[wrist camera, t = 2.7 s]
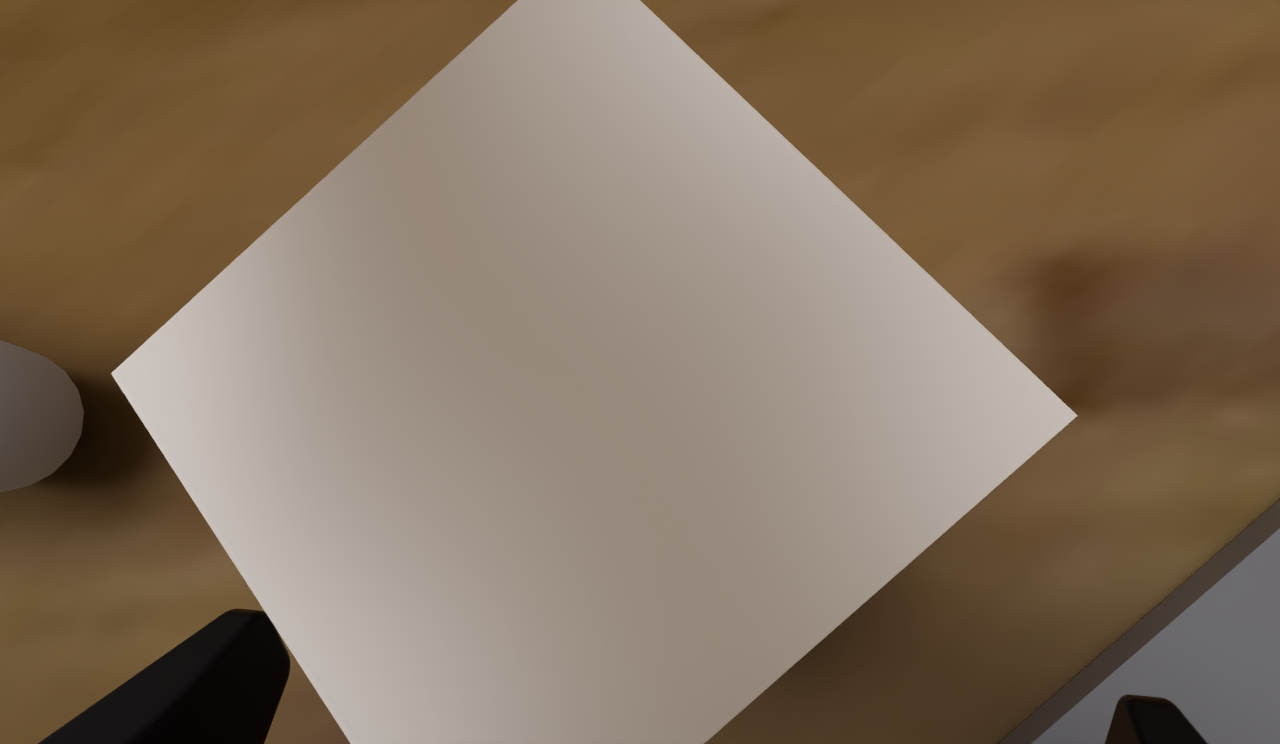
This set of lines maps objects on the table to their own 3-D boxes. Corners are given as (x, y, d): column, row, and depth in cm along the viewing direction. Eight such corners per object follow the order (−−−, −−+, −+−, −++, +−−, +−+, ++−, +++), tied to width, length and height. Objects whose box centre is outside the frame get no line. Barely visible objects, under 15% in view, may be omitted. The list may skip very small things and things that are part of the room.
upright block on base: (661, 730, 19) (177, 1206, 5) (535, 567, 20) (-127, 592, 6) (985, 445, 19) (1402, 129, 5) (837, 297, 20) (834, -289, 6)
